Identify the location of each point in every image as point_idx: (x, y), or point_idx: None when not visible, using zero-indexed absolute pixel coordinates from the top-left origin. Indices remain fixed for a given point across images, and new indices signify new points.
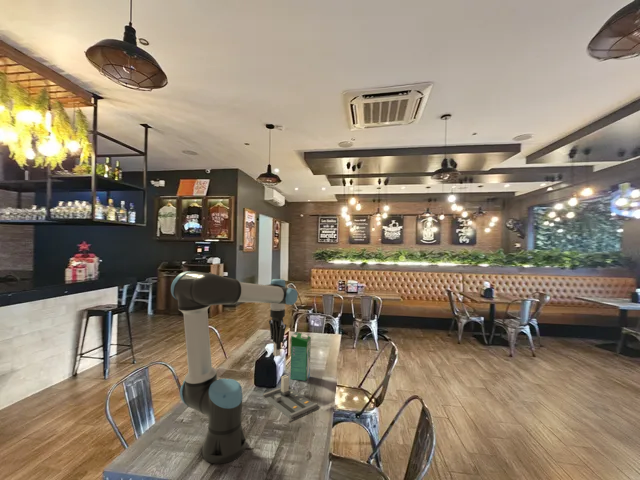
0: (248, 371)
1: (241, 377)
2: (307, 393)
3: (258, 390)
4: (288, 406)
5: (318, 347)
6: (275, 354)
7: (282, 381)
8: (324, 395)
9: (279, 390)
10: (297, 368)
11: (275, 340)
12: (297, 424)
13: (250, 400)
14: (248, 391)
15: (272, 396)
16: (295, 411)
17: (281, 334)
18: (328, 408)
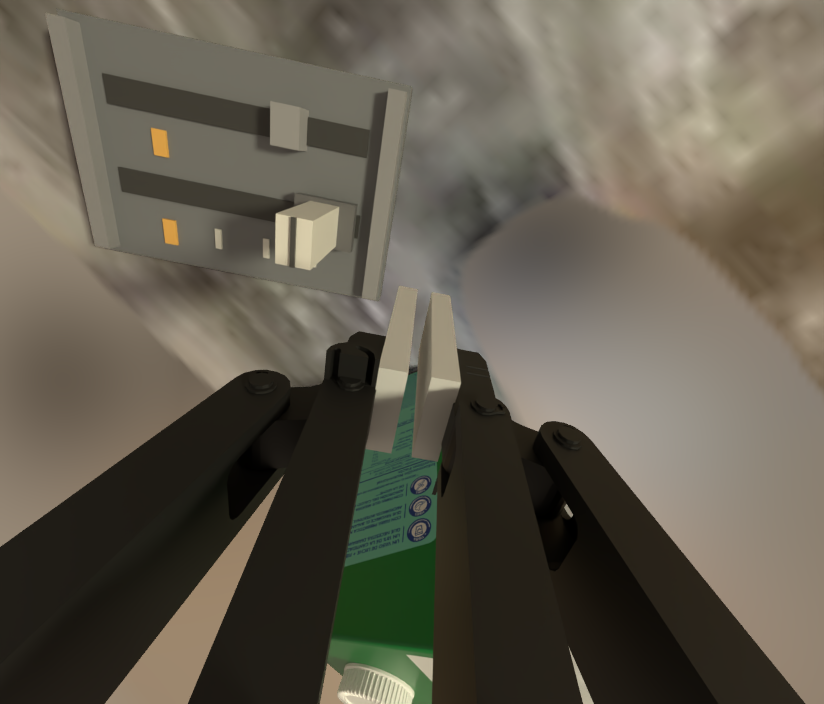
0: (755, 303)
1: (751, 213)
2: (281, 326)
3: (519, 165)
4: (187, 118)
5: None
6: (402, 293)
7: (305, 212)
8: (214, 360)
9: (352, 204)
10: (398, 422)
11: (451, 434)
12: (40, 36)
13: (465, 18)
14: (568, 103)
15: (354, 138)
16: (113, 103)
17: (18, 575)
18: (103, 282)
